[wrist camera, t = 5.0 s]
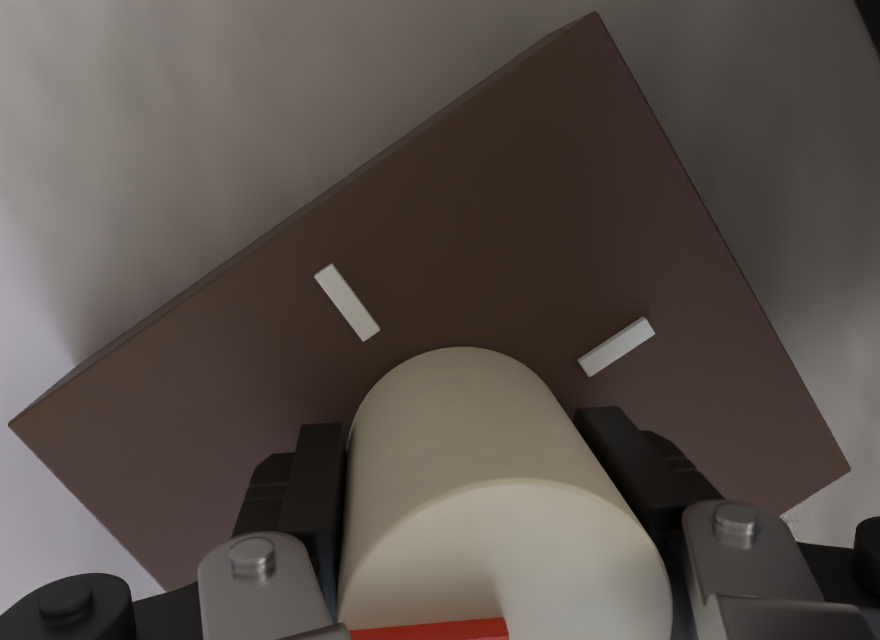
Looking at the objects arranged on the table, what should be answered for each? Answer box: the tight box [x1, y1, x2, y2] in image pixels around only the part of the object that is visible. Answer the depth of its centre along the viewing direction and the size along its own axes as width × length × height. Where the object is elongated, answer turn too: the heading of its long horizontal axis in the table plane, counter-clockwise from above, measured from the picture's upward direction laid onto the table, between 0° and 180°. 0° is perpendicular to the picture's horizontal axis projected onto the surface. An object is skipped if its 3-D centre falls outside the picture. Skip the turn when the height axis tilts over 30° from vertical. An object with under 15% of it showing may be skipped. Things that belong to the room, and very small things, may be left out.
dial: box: [335, 347, 673, 640], centre depth 11 cm, size 4×4×5 cm
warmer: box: [8, 11, 851, 593], centre depth 15 cm, size 10×12×3 cm
